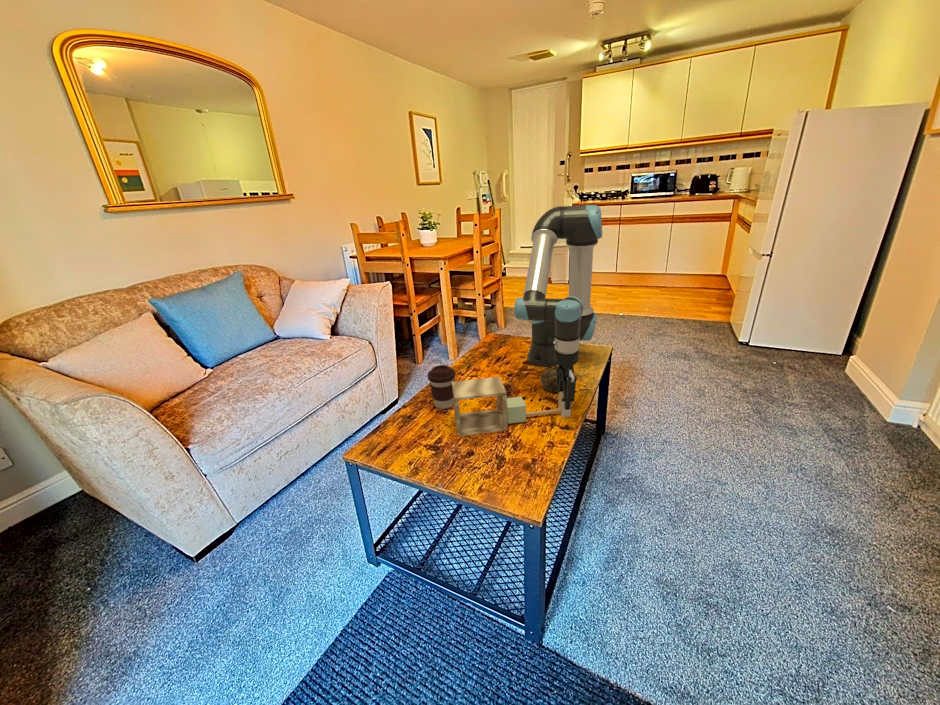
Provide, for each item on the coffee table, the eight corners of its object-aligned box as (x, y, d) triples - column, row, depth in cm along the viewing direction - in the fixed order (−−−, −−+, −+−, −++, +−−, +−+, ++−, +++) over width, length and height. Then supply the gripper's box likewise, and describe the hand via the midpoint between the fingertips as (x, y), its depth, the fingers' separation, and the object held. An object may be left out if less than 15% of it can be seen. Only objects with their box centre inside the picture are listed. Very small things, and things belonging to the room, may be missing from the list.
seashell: (559, 398, 145) (560, 378, 141) (535, 392, 149) (535, 373, 146) (569, 384, 153) (570, 366, 150) (547, 380, 158) (547, 362, 155)
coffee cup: (437, 415, 138) (433, 377, 133) (427, 403, 147) (422, 367, 141) (462, 407, 142) (459, 370, 137) (451, 396, 151) (447, 360, 145)
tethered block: (565, 409, 136) (566, 388, 133) (571, 418, 131) (572, 397, 127) (504, 416, 134) (503, 396, 131) (508, 426, 129) (507, 405, 126)
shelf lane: (500, 414, 137) (499, 376, 131) (507, 432, 127) (506, 392, 121) (455, 420, 135) (451, 381, 129) (458, 438, 125) (454, 398, 119)
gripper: (547, 341, 131) (546, 402, 140) (563, 361, 116) (561, 428, 125) (569, 339, 132) (566, 400, 141) (588, 358, 117) (584, 425, 126)
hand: (564, 413), depth 133 cm, fingers closed on tethered block, 3 cm apart
